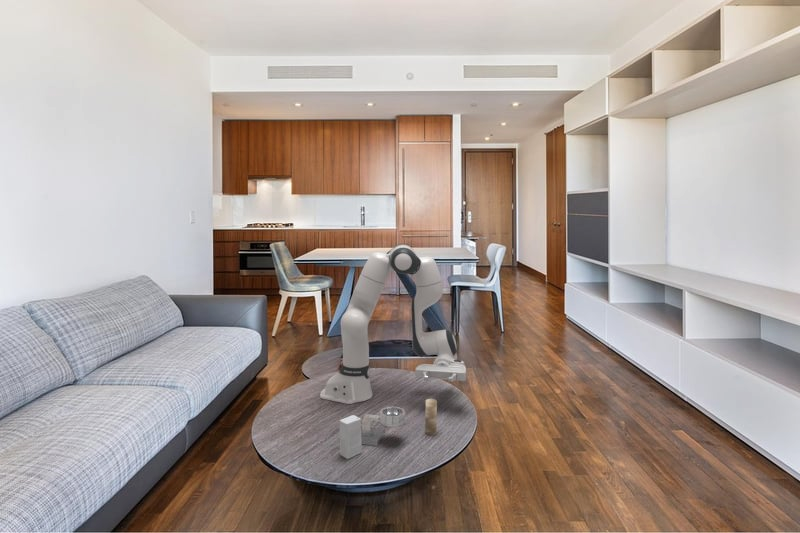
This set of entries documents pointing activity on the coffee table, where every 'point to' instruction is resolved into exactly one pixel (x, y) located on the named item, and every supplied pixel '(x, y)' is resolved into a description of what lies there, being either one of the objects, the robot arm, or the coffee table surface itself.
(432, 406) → the rail post
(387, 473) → the coffee table surface
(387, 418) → the cup bracket
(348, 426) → the skincare box
